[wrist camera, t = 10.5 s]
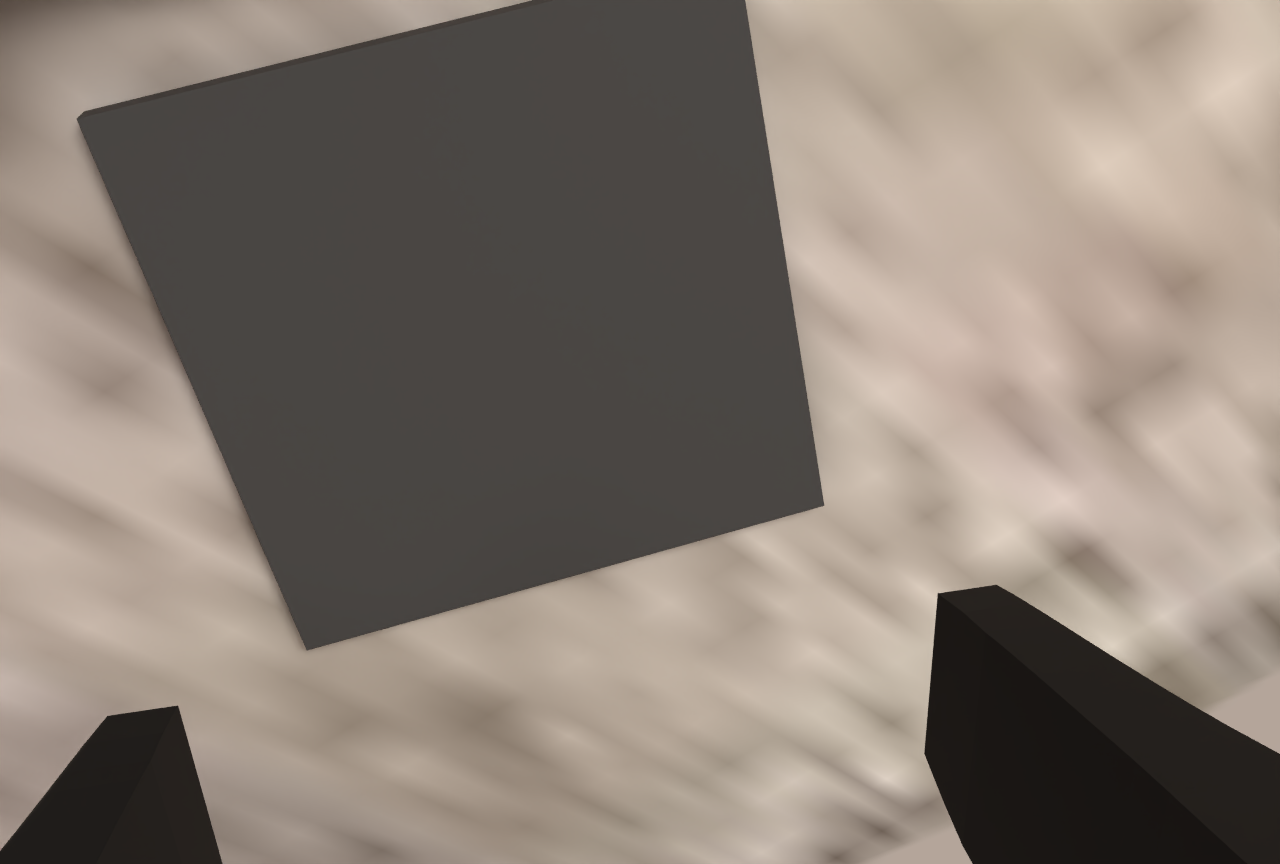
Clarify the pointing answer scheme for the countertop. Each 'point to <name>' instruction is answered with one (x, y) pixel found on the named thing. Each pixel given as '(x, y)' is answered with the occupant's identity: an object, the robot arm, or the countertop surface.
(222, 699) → the countertop surface
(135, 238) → the key mat
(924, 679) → the countertop surface
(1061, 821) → the robot arm
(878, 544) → the countertop surface
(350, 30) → the countertop surface
